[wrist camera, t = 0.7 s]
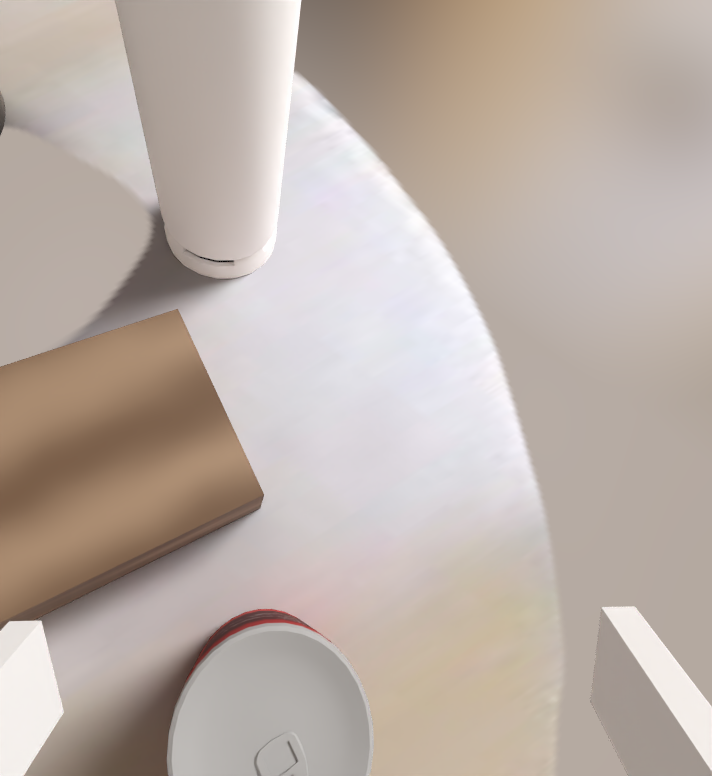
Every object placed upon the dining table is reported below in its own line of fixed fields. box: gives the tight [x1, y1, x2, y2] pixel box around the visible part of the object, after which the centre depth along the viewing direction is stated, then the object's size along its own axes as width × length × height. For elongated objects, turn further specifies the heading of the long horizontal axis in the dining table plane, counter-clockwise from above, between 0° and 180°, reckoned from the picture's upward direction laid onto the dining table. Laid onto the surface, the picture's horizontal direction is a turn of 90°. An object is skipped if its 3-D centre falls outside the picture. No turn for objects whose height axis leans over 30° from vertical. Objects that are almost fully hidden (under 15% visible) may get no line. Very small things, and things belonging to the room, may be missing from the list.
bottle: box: [115, 0, 301, 279], centre depth 25 cm, size 8×8×28 cm
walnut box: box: [0, 309, 264, 631], centre depth 28 cm, size 12×14×6 cm
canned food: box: [167, 609, 374, 776], centre depth 23 cm, size 8×8×11 cm
